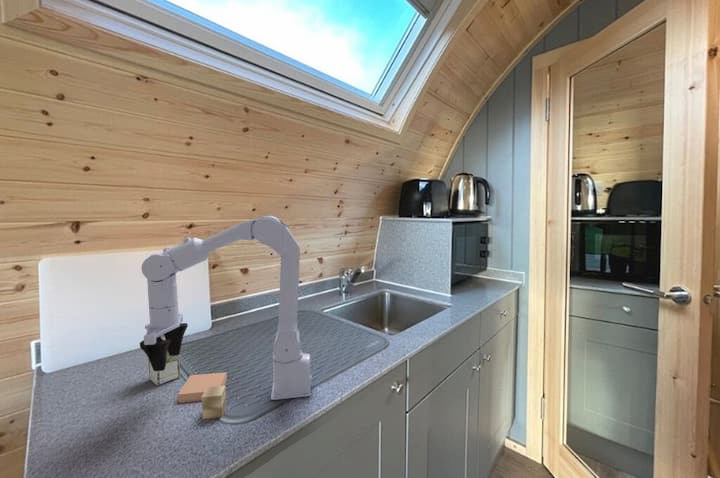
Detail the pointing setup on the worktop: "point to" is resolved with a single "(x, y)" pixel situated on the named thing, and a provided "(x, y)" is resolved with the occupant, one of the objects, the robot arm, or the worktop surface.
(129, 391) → the worktop surface
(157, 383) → the syrup box
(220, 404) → the beech block
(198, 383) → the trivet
